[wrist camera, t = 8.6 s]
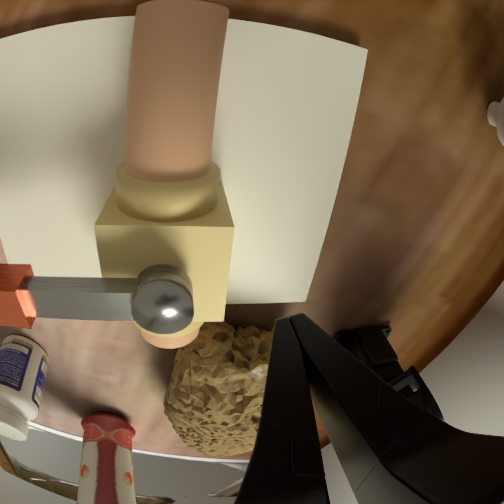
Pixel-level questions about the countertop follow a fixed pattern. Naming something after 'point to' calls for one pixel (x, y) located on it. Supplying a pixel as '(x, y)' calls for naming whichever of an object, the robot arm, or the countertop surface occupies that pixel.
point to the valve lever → (98, 298)
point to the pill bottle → (20, 384)
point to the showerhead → (497, 118)
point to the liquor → (106, 461)
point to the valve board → (247, 146)
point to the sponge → (219, 388)
